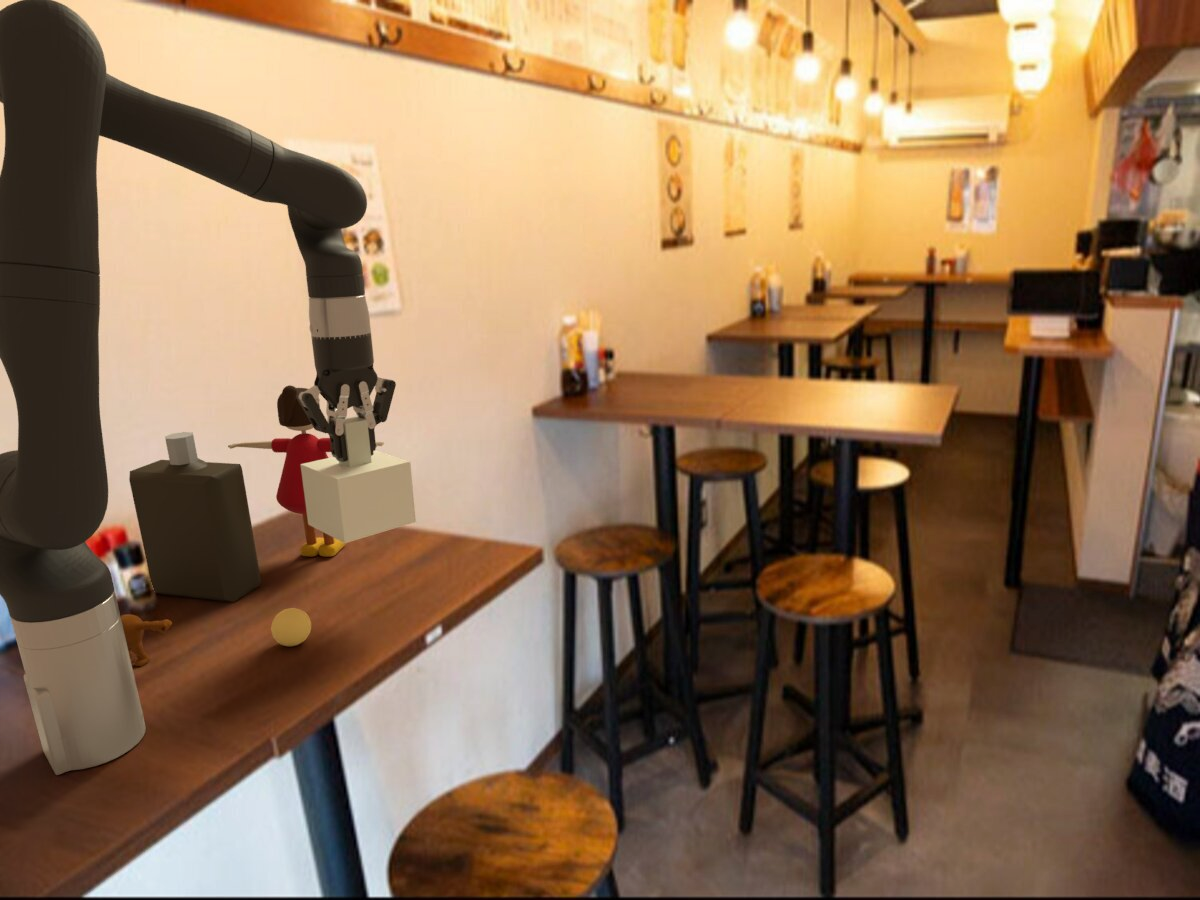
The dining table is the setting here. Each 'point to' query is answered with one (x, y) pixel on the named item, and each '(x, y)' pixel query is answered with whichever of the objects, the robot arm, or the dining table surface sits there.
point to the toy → (298, 467)
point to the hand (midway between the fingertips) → (355, 457)
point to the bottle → (195, 524)
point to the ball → (291, 627)
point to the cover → (358, 489)
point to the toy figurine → (140, 635)
